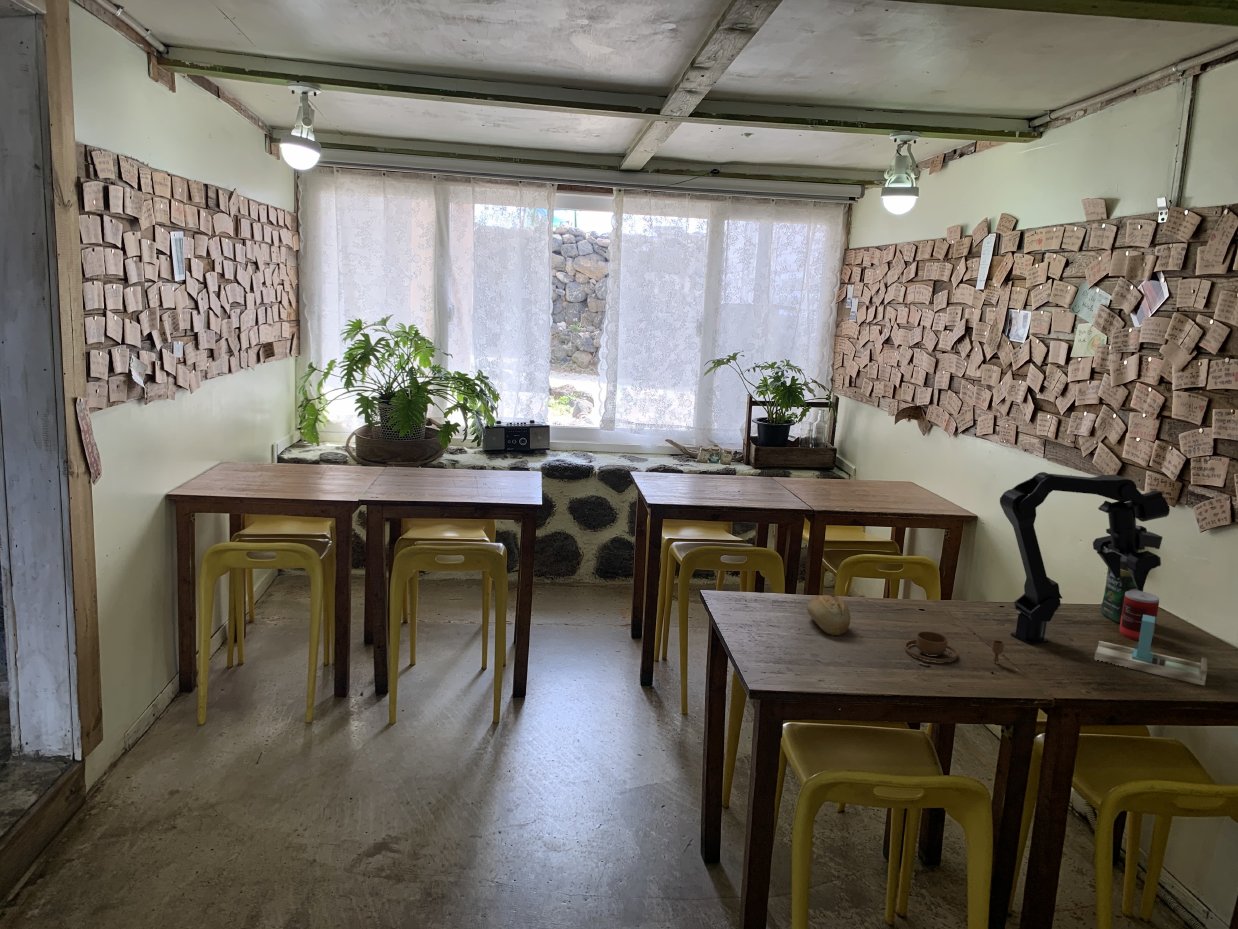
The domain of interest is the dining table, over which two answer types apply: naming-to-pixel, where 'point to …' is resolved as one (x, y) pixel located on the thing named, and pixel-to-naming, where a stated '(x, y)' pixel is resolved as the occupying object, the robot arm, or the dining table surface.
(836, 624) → the bread roll
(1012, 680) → the dining table surface
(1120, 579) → the coffee jar
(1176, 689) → the dining table surface
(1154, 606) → the canned food
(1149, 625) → the slider
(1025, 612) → the robot arm
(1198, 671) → the box
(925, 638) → the place setting
